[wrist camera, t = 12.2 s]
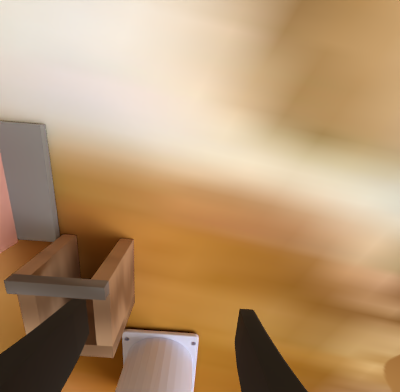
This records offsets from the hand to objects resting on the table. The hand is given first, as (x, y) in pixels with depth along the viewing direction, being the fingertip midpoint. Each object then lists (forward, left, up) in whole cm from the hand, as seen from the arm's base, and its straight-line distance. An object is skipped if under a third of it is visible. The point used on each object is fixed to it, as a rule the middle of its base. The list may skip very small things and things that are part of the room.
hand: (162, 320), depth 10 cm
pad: (+3, +16, -10) cm, 19 cm away
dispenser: (-5, +8, -10) cm, 13 cm away
